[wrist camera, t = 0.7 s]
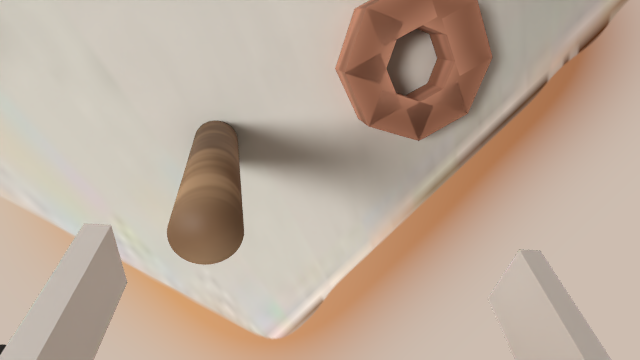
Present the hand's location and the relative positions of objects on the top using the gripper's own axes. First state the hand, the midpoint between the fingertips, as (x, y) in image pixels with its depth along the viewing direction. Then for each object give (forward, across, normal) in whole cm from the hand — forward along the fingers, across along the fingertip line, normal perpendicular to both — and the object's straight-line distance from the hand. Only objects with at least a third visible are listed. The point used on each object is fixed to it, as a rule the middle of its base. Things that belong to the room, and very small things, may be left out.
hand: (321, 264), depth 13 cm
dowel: (+20, -7, -8) cm, 23 cm away
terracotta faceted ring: (+25, +9, -1) cm, 26 cm away
